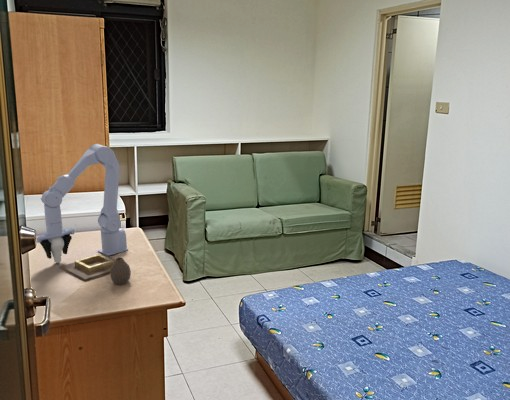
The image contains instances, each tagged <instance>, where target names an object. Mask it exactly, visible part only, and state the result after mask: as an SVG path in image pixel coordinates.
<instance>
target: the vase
mask: <svg viewBox="0 0 510 400" xmlns="http://www.w3.org/2000/svg"><path fill="white" fill-rule="evenodd" d="M109 277H110V279H111V281H112V282H113V283H114V284H115V285H118V286H119V285H125V284H127V283H128V282H129V280H130V278H131V267H130V264H128V263H127V262H126V261H125V260H124V258H123V257H117V258H116V260H115V262H114V264H113V265H112V267H111V270H110V273H109Z"/></svg>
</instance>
